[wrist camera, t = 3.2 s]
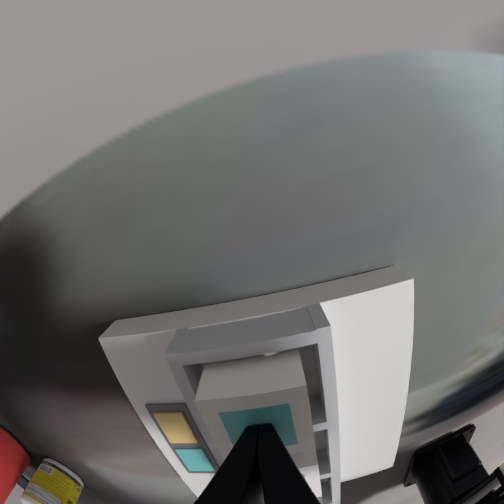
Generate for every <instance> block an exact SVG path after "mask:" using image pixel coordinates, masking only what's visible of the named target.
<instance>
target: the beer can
mask: <svg viewBox="0 0 504 504" xmlns="http://www.w3.org/2000/svg"><path fill="white" fill-rule="evenodd" d="M30 461H31V459H30V456H29V454H28V452H27V451H26V449H25V448H24V447H23V446H22V444H21V443H20V442H19V441H18V440H17V439H16V438H15V437H14V436H13V435H12V434H11V433H10V432H8V431H7V430H6V429H4V428H3V427H1V426H0V504H4V502H5V500H6V499H7V498H8V496H9V494H10V493H11V491H12V490H13V488H14V487H15V485H16V483H17V482H18V480H19V479H20V477H21V476H22V474H23V473H24V471H25V470H26V468H27V467H28V465H29V464H30Z"/></svg>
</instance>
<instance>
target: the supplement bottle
mask: <svg viewBox="0 0 504 504" xmlns="http://www.w3.org/2000/svg"><path fill="white" fill-rule="evenodd" d="M83 487H84V484H83V482H82V480H81V479H80V478H79V477H78V476H77V475H76V474H75V473H74V472H72V471H71V470H70V469H68V468H67V467H65V466H64V465H62V464H61V463H59V462H57V461H55V460H52V459H49V458H46V459H44V460H43V461H42V463H41V464H40V466H39V467H38V469H37V471H36V472H35V474H34V476H33V477H32V479H31V480H30V482H29V484H28V485H27V487H26V489H25V490H24V492H23V494H22V496H21V502H22V504H76V502H77V500H78V498H79V496H80V493H81V492H82V489H83Z"/></svg>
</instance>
